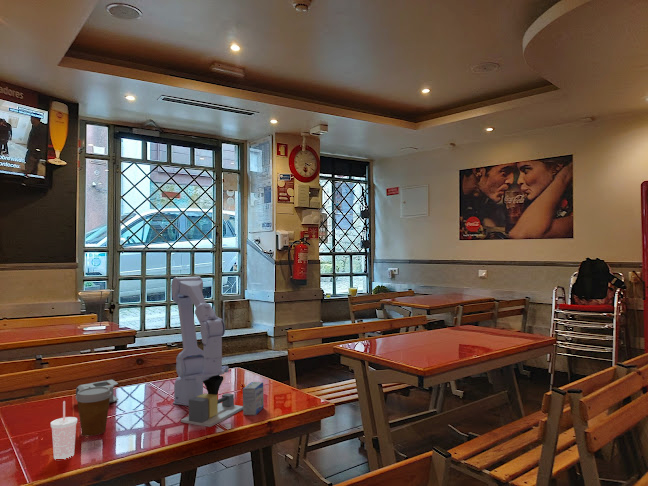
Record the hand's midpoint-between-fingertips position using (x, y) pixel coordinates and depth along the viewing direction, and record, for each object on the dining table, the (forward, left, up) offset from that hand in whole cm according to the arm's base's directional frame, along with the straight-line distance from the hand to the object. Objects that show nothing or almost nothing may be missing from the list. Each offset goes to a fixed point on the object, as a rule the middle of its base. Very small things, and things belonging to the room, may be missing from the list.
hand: (213, 399), depth 151 cm
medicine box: (+10, +8, -5) cm, 14 cm away
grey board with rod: (0, 0, -5) cm, 5 cm away
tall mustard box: (0, -3, -4) cm, 5 cm away
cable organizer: (-47, -4, -5) cm, 47 cm away
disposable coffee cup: (-24, -25, -5) cm, 35 cm away
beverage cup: (-17, -40, -5) cm, 43 cm away
